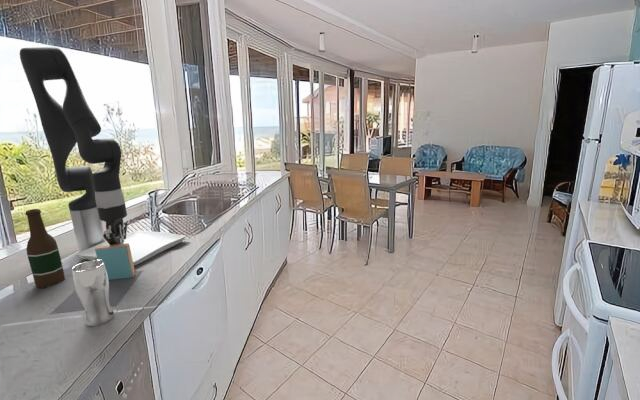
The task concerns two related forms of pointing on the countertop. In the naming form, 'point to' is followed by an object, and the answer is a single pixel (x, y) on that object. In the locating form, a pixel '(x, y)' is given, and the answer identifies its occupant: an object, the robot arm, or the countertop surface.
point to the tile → (116, 260)
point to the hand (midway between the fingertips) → (120, 255)
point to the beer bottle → (43, 253)
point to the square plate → (141, 245)
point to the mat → (115, 295)
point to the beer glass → (93, 291)
